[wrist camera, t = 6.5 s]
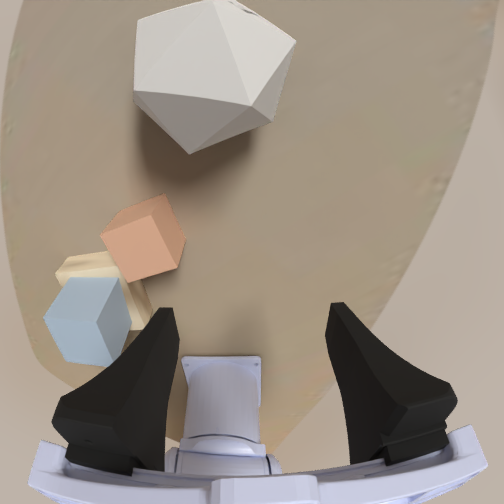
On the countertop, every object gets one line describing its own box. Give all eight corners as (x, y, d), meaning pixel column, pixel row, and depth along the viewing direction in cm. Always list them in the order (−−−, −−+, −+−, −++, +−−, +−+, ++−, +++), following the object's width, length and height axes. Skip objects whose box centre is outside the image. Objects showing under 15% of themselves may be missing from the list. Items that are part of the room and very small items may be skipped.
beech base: (153, 306, 27) (146, 329, 25) (95, 310, 27) (85, 331, 25) (131, 245, 24) (119, 265, 21) (69, 254, 24) (55, 273, 22)
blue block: (132, 321, 24) (116, 367, 20) (86, 319, 24) (66, 361, 20) (118, 277, 22) (96, 322, 18) (70, 277, 22) (43, 317, 17)
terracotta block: (186, 239, 24) (177, 267, 20) (142, 254, 24) (127, 282, 21) (165, 192, 22) (150, 214, 18) (119, 210, 22) (99, 234, 19)
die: (293, 117, 20) (349, 19, 10) (198, 199, 18) (195, 112, 9) (212, 51, 20) (223, -52, 10) (117, 117, 18) (75, 15, 8)
